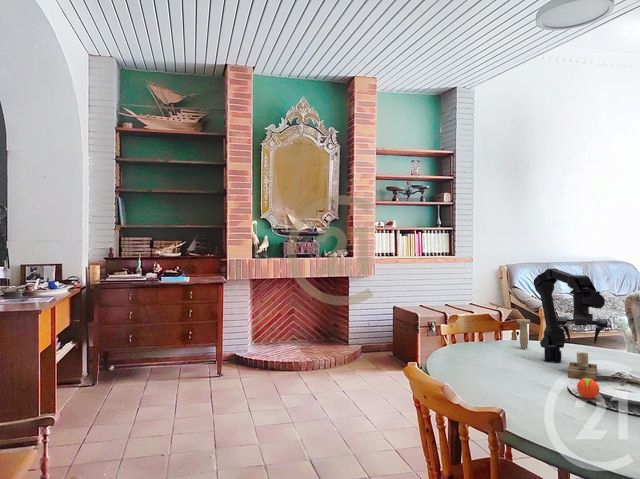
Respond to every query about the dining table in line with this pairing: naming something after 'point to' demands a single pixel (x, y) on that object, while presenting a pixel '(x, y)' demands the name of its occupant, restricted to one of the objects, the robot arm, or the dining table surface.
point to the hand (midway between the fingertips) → (582, 342)
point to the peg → (582, 359)
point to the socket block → (582, 371)
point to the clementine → (588, 388)
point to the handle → (523, 332)
